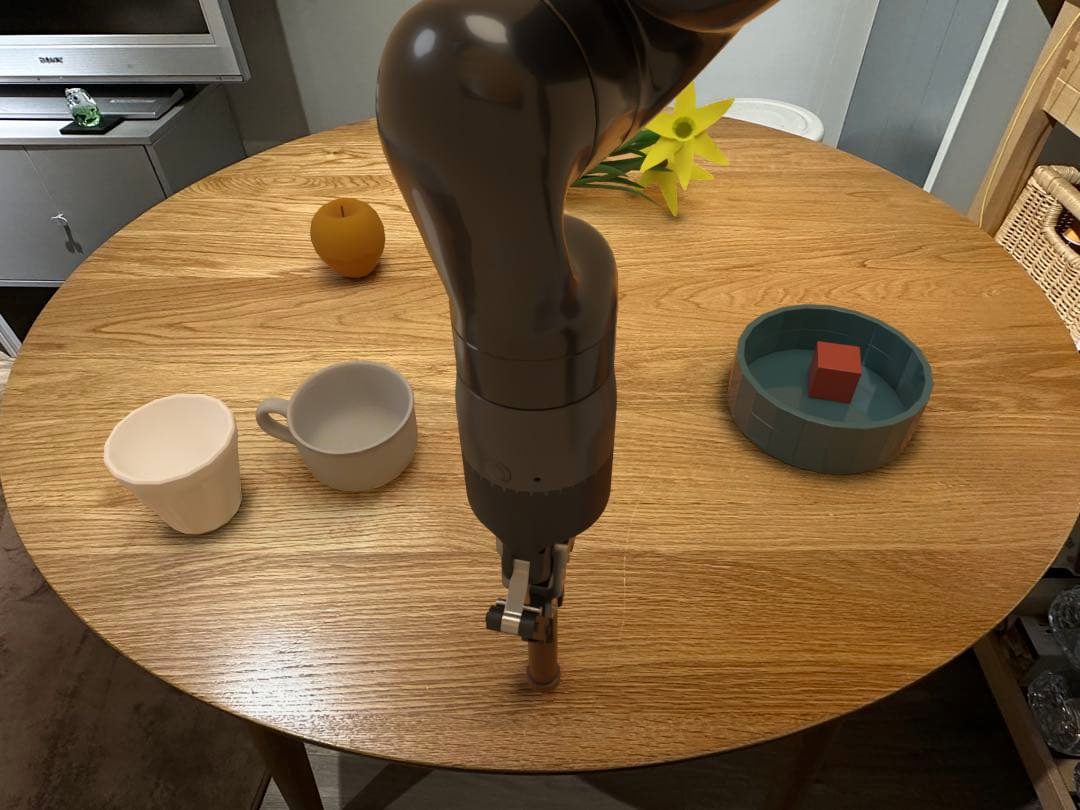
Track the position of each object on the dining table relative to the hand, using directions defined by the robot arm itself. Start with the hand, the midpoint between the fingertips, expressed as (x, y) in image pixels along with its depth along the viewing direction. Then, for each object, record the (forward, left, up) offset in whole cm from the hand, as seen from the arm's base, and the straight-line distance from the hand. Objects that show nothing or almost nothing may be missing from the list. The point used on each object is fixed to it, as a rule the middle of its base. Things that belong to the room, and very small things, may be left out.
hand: (542, 617), depth 49 cm
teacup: (+23, -17, -9) cm, 30 cm away
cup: (+33, -9, -9) cm, 35 cm away
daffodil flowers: (+10, -67, -9) cm, 68 cm away
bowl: (-19, -34, -9) cm, 40 cm away
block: (-20, -36, -9) cm, 43 cm away
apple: (+35, -46, -9) cm, 58 cm away
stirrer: (0, 0, -8) cm, 8 cm away
